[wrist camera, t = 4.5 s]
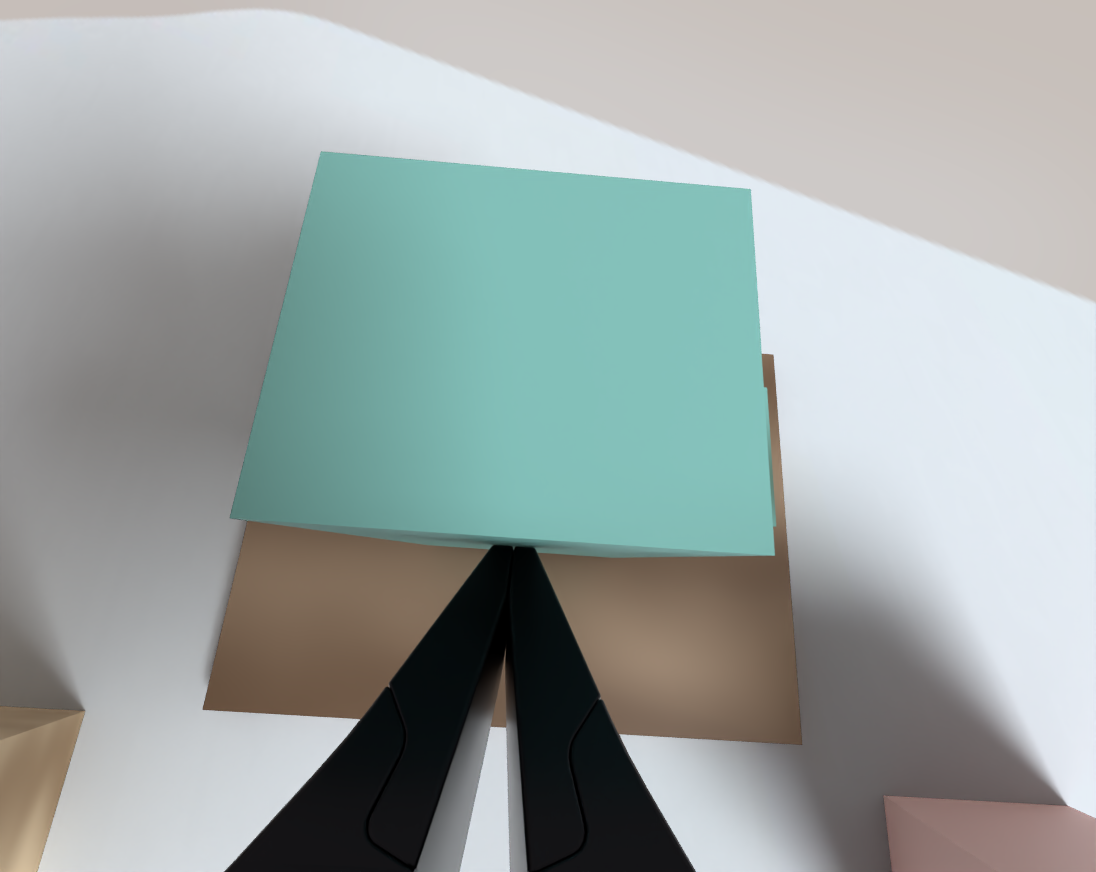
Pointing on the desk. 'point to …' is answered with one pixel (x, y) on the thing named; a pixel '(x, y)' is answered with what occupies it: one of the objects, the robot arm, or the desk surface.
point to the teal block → (517, 365)
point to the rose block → (987, 836)
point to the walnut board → (591, 610)
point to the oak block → (32, 779)
